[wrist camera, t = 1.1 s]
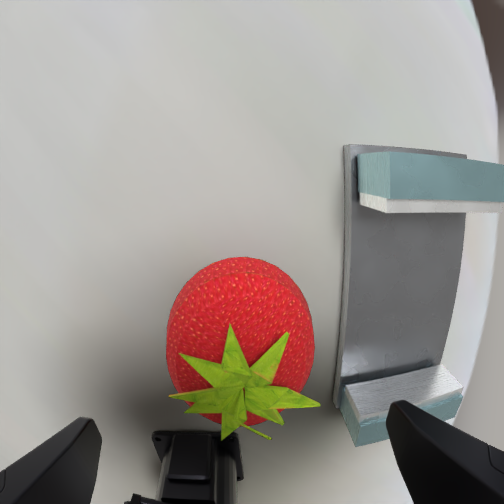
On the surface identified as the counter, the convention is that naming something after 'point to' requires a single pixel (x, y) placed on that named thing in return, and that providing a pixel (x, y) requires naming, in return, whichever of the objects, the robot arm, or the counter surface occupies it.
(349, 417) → the vise
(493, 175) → the block
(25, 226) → the counter surface
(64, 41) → the counter surface
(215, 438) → the robot arm
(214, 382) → the strawberry
